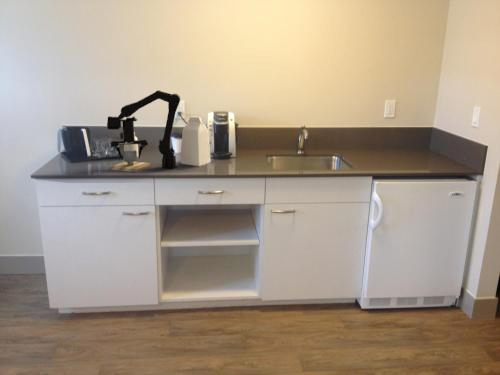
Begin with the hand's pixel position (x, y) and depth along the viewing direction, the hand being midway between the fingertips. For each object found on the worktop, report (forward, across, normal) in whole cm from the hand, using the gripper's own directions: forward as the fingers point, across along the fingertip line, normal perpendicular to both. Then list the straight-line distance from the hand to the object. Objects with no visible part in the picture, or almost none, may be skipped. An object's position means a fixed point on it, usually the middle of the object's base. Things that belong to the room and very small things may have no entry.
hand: (130, 158), depth 243 cm
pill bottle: (+5, -2, -26) cm, 26 cm away
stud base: (+5, 0, 0) cm, 5 cm away
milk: (+5, -36, -3) cm, 37 cm away
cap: (+1, 0, 0) cm, 1 cm away
